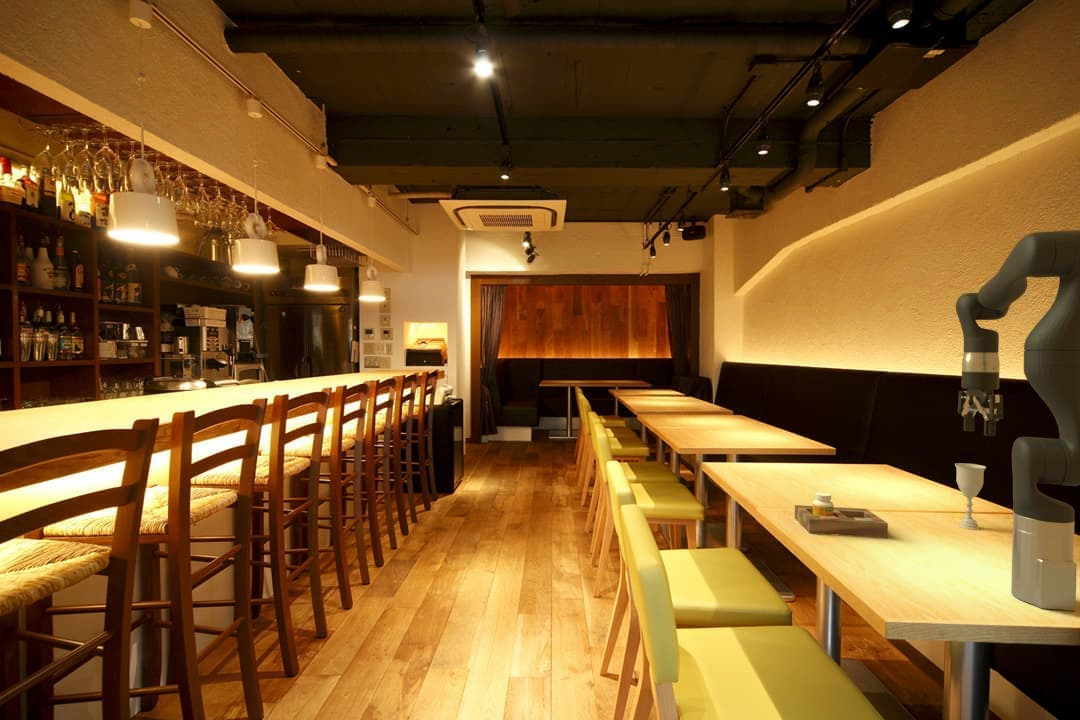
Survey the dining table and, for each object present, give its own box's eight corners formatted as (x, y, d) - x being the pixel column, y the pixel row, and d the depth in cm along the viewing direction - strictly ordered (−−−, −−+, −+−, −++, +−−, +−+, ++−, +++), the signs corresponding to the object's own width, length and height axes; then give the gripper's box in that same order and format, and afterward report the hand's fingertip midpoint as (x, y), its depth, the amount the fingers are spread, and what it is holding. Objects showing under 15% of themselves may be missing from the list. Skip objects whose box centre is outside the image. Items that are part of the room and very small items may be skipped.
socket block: (887, 537, 148) (887, 522, 148) (809, 533, 152) (809, 517, 152) (865, 522, 162) (866, 507, 162) (794, 518, 166) (794, 504, 165)
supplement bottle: (818, 522, 161) (819, 490, 161) (836, 527, 157) (837, 494, 156) (808, 526, 158) (809, 493, 158) (826, 531, 154) (827, 497, 153)
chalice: (955, 528, 157) (956, 466, 157) (950, 521, 163) (952, 462, 163) (987, 532, 154) (989, 469, 153) (981, 525, 160) (982, 464, 159)
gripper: (1016, 371, 132) (1014, 438, 132) (979, 369, 146) (977, 430, 146) (981, 371, 133) (980, 437, 133) (948, 369, 147) (946, 429, 147)
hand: (978, 433), depth 140 cm, fingers open, 8 cm apart
